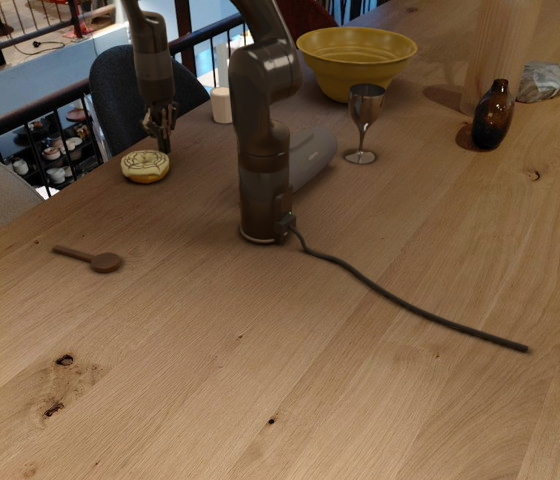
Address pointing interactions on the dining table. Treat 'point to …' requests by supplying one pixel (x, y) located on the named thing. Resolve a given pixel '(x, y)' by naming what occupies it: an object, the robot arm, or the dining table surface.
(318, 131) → the bluetooth speaker
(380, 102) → the wine glass
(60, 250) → the spoon
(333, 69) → the planter bowl
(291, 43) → the robot arm
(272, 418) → the dining table surface
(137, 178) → the decorated donut
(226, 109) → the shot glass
